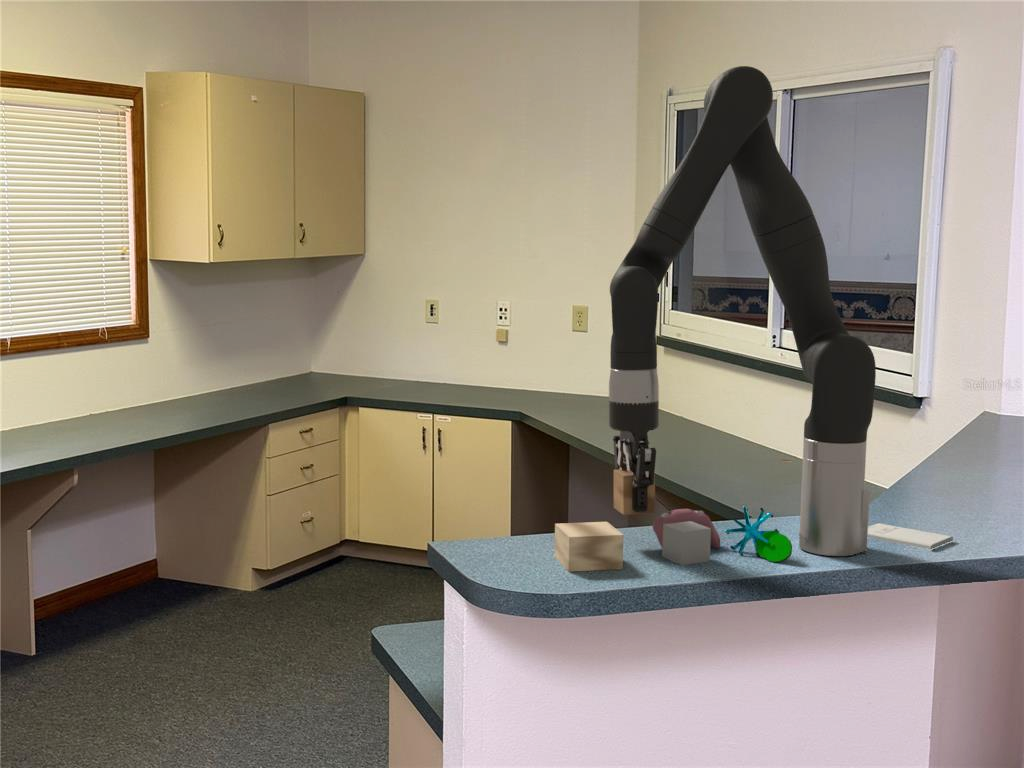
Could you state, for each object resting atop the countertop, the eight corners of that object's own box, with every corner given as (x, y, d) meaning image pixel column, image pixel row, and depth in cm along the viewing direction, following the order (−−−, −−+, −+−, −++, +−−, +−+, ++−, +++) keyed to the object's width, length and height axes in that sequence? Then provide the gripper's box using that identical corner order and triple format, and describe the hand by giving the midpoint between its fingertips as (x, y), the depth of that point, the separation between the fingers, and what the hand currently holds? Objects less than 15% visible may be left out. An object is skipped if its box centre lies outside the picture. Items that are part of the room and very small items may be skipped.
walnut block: (644, 505, 174) (644, 467, 173) (654, 512, 169) (654, 473, 168) (613, 507, 173) (613, 469, 172) (623, 514, 168) (623, 475, 167)
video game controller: (710, 553, 174) (701, 509, 176) (724, 547, 170) (715, 502, 172) (654, 558, 170) (645, 514, 172) (668, 552, 166) (659, 507, 168)
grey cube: (689, 553, 168) (690, 521, 167) (709, 561, 164) (710, 528, 163) (662, 557, 166) (663, 524, 165) (681, 565, 161) (682, 531, 161)
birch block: (606, 554, 166) (606, 521, 166) (622, 568, 159) (623, 534, 158) (554, 556, 165) (555, 523, 164) (568, 571, 157) (569, 537, 156)
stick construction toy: (713, 534, 170) (744, 494, 171) (733, 552, 175) (763, 513, 175) (769, 574, 161) (801, 532, 162) (788, 592, 166) (820, 551, 166)
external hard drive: (930, 555, 171) (855, 539, 179) (952, 545, 177) (879, 531, 185) (931, 544, 171) (855, 530, 179) (953, 535, 176) (879, 521, 185)
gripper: (673, 402, 163) (673, 516, 165) (642, 391, 177) (642, 496, 179) (624, 404, 161) (625, 519, 163) (596, 393, 175) (597, 499, 177)
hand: (634, 506), depth 171 cm, fingers closed on walnut block, 5 cm apart
